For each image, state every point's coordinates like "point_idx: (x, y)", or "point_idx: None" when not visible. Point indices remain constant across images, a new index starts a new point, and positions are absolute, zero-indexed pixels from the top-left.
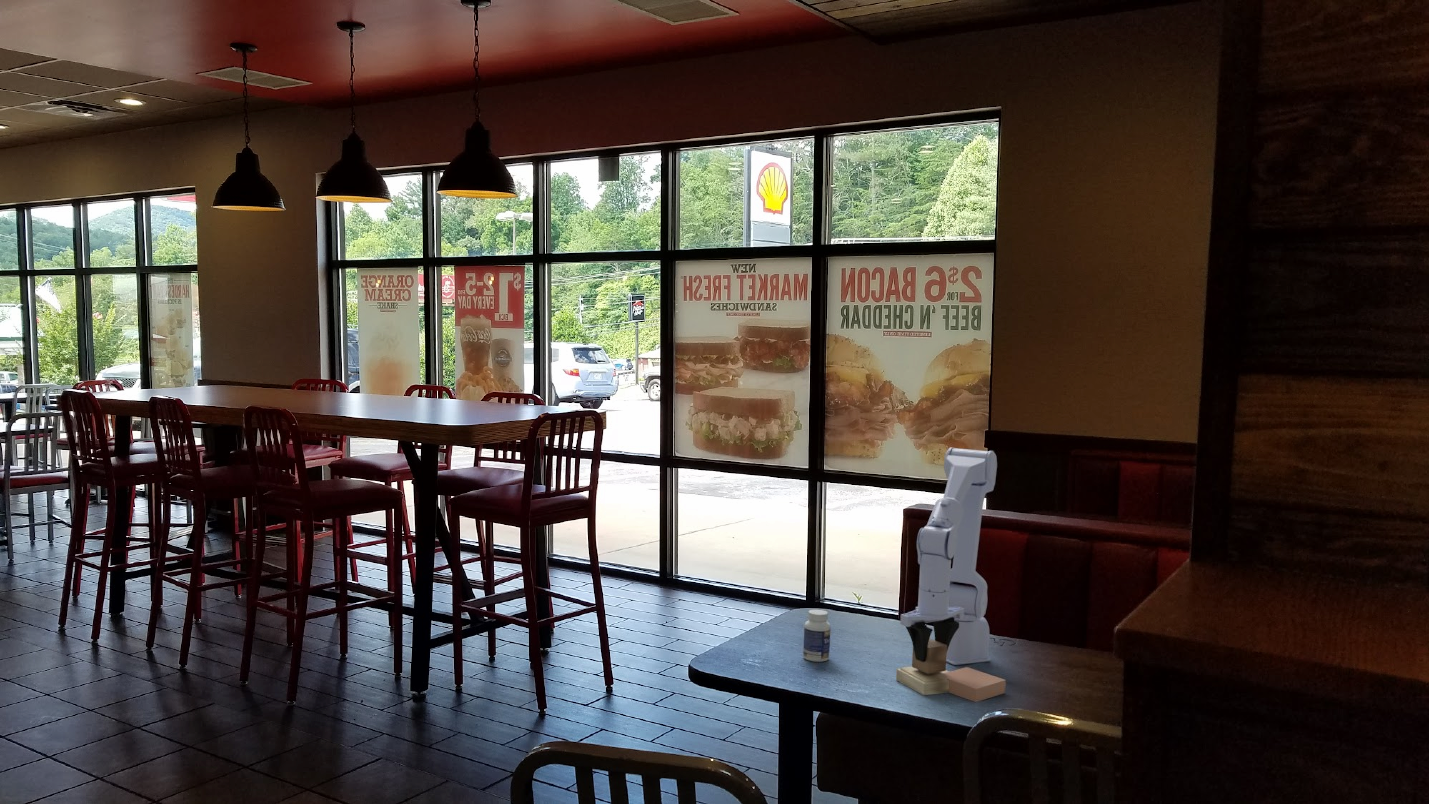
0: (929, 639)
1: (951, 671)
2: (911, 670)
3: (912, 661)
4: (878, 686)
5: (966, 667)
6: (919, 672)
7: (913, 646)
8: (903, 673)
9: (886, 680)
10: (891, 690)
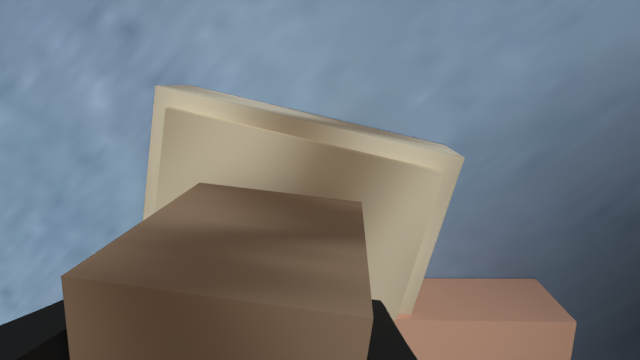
0: (331, 328)
1: (410, 323)
2: (197, 183)
3: (182, 196)
4: (38, 108)
5: (563, 328)
6: None
7: (34, 315)
8: (151, 161)
9: (135, 59)
10: (67, 184)
